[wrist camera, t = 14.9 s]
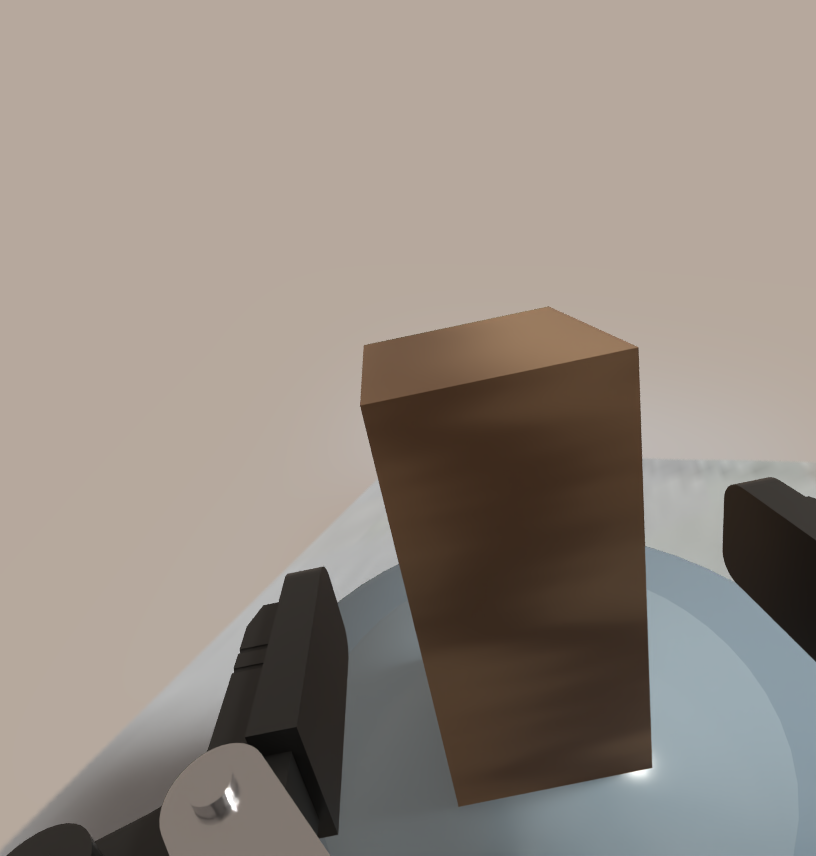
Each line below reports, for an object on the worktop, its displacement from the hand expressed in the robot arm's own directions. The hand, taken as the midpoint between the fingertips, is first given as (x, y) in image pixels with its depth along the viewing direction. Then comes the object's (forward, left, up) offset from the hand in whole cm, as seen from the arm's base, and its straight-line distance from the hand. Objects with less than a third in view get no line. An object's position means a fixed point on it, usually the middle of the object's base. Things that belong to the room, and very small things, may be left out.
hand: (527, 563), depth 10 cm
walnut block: (+1, -2, -7) cm, 8 cm away
